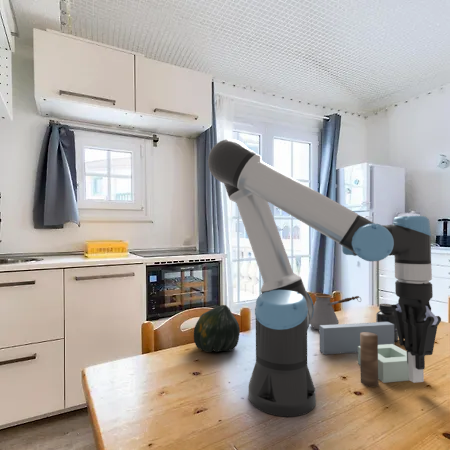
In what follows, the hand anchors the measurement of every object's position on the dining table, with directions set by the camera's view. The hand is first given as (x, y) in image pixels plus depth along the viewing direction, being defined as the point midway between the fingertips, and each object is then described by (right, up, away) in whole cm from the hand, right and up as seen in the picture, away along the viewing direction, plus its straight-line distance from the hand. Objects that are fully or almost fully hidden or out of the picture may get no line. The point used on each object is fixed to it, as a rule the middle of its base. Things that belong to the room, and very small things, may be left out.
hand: (416, 380), depth 72 cm
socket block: (-1, -3, +11) cm, 11 cm away
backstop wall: (-3, -3, +25) cm, 26 cm away
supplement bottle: (+12, -4, +35) cm, 37 cm away
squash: (-48, -4, +27) cm, 55 cm away
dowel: (-9, -3, +4) cm, 10 cm away
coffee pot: (-4, -4, +44) cm, 44 cm away
